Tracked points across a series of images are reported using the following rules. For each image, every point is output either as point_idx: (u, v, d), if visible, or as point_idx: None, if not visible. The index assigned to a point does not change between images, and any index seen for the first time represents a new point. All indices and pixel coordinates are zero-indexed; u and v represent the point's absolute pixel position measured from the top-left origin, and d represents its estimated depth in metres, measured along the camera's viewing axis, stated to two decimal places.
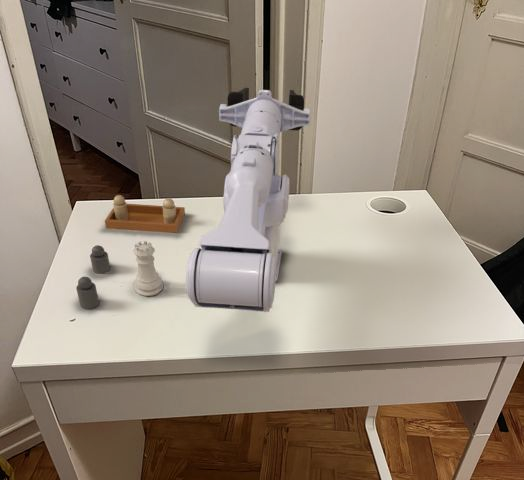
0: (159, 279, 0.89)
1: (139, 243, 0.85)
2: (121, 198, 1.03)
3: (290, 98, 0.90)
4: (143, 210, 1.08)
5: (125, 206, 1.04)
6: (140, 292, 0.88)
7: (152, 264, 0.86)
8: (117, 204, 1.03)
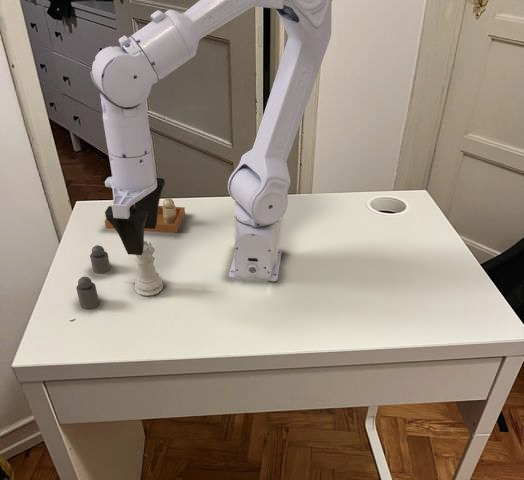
0: (159, 279, 0.89)
1: None
2: None
3: None
4: None
5: None
6: (140, 292, 0.88)
7: (152, 264, 0.86)
8: None
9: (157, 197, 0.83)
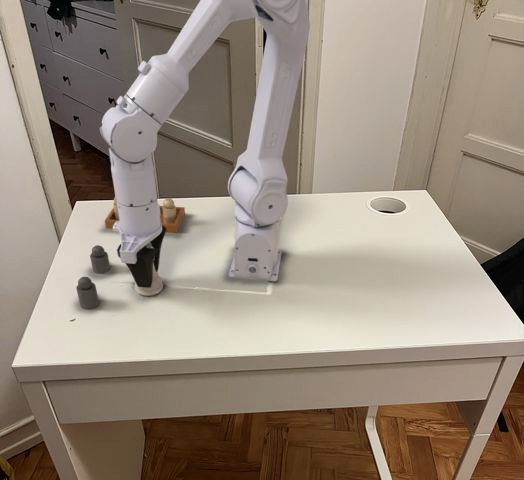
0: (159, 279, 0.89)
1: None
2: None
3: None
4: None
5: None
6: (140, 292, 0.88)
7: None
8: None
9: (159, 244, 0.86)
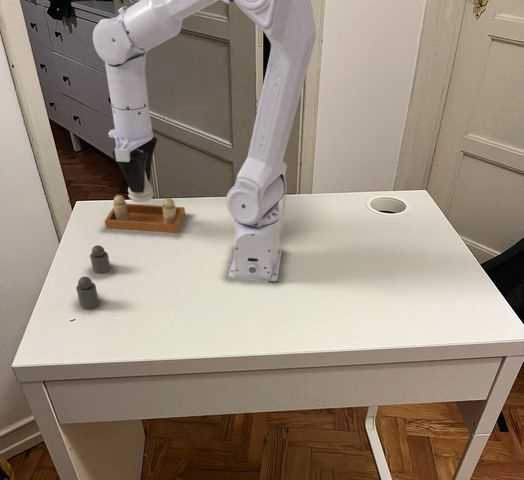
0: (150, 186, 0.97)
1: None
2: (121, 198, 1.03)
3: None
4: (143, 210, 1.08)
5: (125, 206, 1.04)
6: (133, 198, 0.97)
7: None
8: (117, 204, 1.03)
9: (150, 153, 0.95)
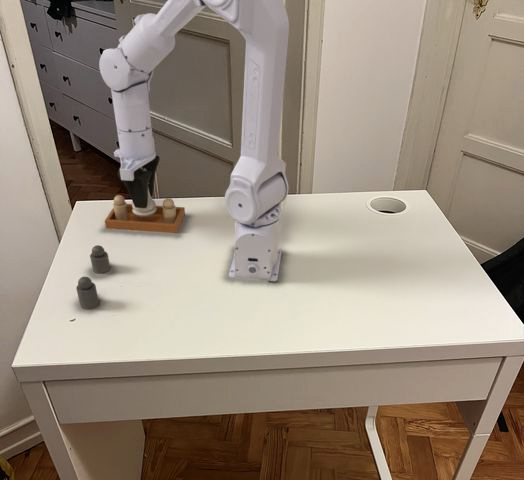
0: (153, 202, 1.03)
1: None
2: (121, 198, 1.03)
3: None
4: None
5: (125, 206, 1.04)
6: (137, 213, 1.03)
7: None
8: (117, 204, 1.03)
9: (153, 171, 1.01)
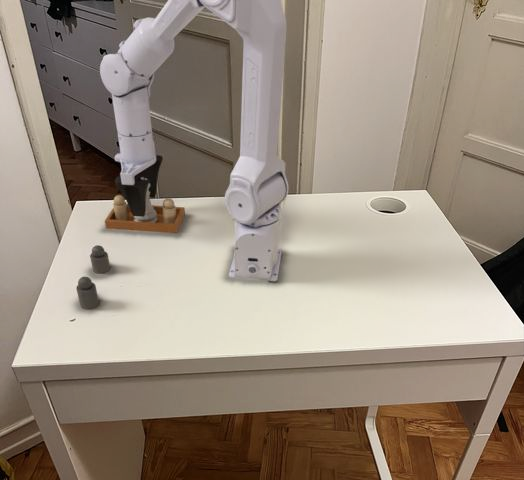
0: (154, 211, 1.04)
1: None
2: (121, 198, 1.03)
3: None
4: None
5: (125, 206, 1.04)
6: None
7: (148, 197, 1.02)
8: (117, 204, 1.03)
9: (156, 170, 1.03)
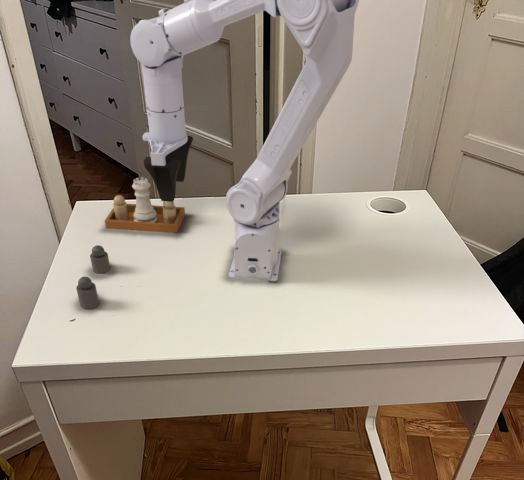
0: (154, 211, 1.04)
1: (137, 179, 1.01)
2: (121, 198, 1.03)
3: None
4: None
5: (125, 206, 1.04)
6: None
7: (148, 197, 1.02)
8: (117, 204, 1.03)
9: (186, 152, 0.95)
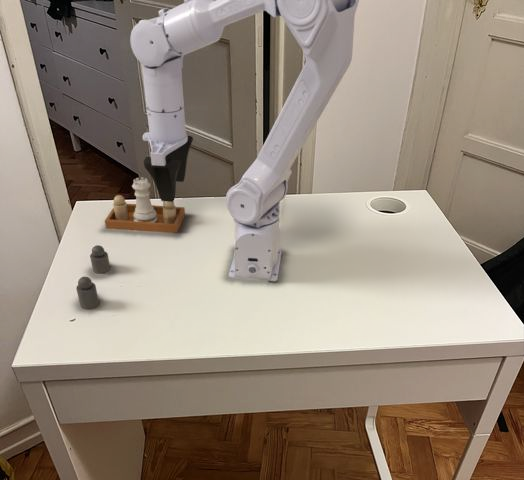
0: (154, 211, 1.04)
1: (137, 179, 1.01)
2: (121, 198, 1.03)
3: None
4: None
5: (125, 206, 1.04)
6: None
7: (148, 197, 1.02)
8: (117, 204, 1.03)
9: (186, 152, 0.95)
